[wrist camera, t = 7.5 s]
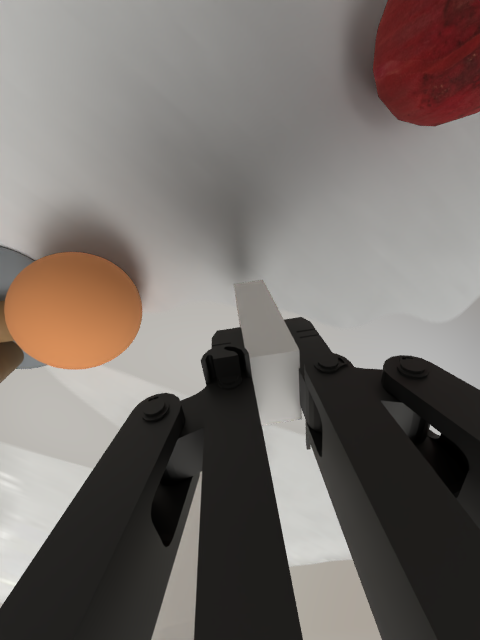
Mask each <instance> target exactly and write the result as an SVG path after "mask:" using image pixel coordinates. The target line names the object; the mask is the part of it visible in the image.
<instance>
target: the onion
mask: <svg viewBox="0 0 480 640" xmlns="http://www.w3.org/2000/svg"><path fill="white" fill-rule="evenodd" d="M373 73H374V78H375V83H376V88H377V93H378V97H379V98H380V99H381V100H382V102H383V103H384V104H385V105H386V107H387V108H388V109H389V110H390V111H391V113H392V114H393V115H394V116H395V117H396V118H397V119H398V120H401V121H405V122H409V123H412V124H416V125H420V126H437V125H440V124H443V123H447V122H450V121H453V120H456V119H460V118H463V117H466V116H469V115H472V114H475V113H478V112H479V111H480V0H388V2H387V4H386V7H385V10H384V13H383V15H382V18H381V21H380V24H379V27H378V31H377V36H376V43H375V53H374V62H373Z"/></svg>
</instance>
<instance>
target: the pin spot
mask: <svg viewBox="0 0 480 640" xmlns="http://www.w3.org/2000/svg"><path fill="white" fill-rule="evenodd" d="M33 262H34V260H32V259H30V258H28V257H27V256H25V255H22V254H20V253H18V252H16V251H13V250H10V249H7V248H4V247H0V301H4V300H5V298H6V294H7V292H8V289H9V287H10V285H11V283H12V282H13V281H14V279H15V278H16V276H17V275H18V274H19V273H20V272H21V271H22V270H23V269H24V268H25V267H27V266H28V265H30V264H31V263H33ZM13 342H15V341H13ZM15 343H16V342H15ZM16 344H17V343H16ZM17 345H18V344H17ZM22 351H23V350H22ZM23 353H24V360H23V362H22V363H21V364H20V365H19V366H18V367H17V368H16V369H31V368H38V367H42V366H46V365H47V364H44V363H42V362H40V361H38V360H36V359H34V358H33V357H31V356H30V355H28V354H27V353H26V352H24V351H23Z"/></svg>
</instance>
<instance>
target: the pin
mask: <svg viewBox="0 0 480 640" xmlns="http://www.w3.org/2000/svg"><path fill="white" fill-rule="evenodd" d="M23 360H24V353H23V351H22V349H21V348H20V347H19V346H18V345H17V344H16V343H15V342H13V341H8V342H1V343H0V383H1V382H2V381H3V380H4V379H5V378H6V377H7V376H8V375H9V374H10V373H11V372H12V371H14V370H15V369H16V368H17V367H18V366H19V365H20V364H21V363H22V362H23Z"/></svg>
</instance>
